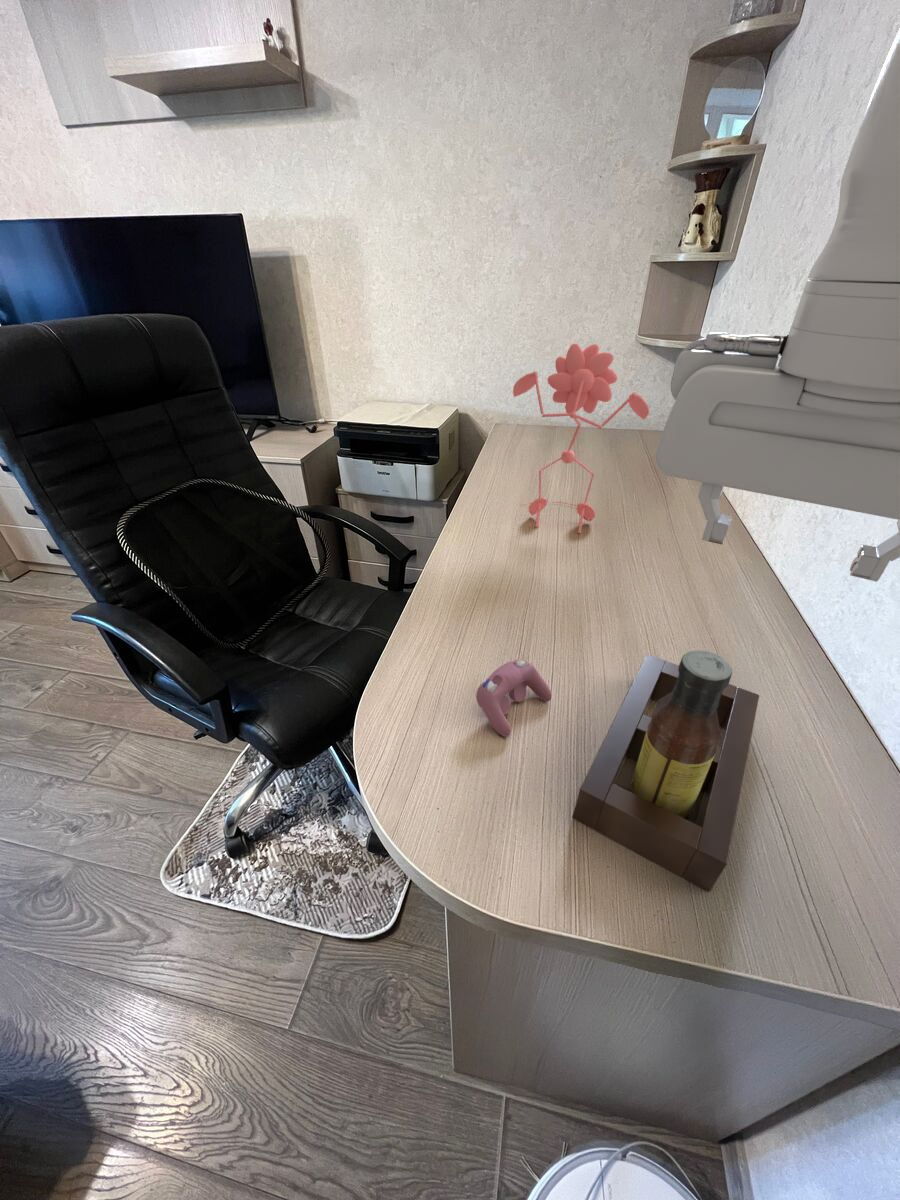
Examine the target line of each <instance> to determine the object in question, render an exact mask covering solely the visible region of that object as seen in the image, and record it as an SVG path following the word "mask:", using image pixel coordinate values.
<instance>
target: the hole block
mask: <svg viewBox="0 0 900 1200" xmlns="http://www.w3.org/2000/svg"><path fill="white" fill-rule="evenodd" d="M678 668H679V664H675V663H673V662H671V661H668V660H665V659H662V658H659V657H657V656H654V655H651V654H648V653H646V655H645V657H644V659H643V661H642V663H641V664H640V667H639V669H638V671H637V672H636V674H635V677H634V679H633V681H632V683H631V685H630V687H629V689H628V691H627V693H626V695H625V697H624V699H623V701H622V703H621V705H620V708H619V709H618V711H617V713H616V716H615V717H614V719H613V721H612V724H611V725H610V726H609V729H608V732H607V733H606V735H605V737H604V739H603V741H602V744H601V746H600V748H599V749H598V751H597V753H596V755H595V757H594V759H593V761H592V763H591V765H590V767H589V769H588V771H587V774H586V775H585V777H584V780H583V781H582V784H581V786H580V787H579V791H578V795H577V798H576V802H575V806H574V809H573V813H572V819H574V820H575V821H577V822H579V823H581V824H583V825H585V826H586V827H588V828H591V829H592V830H594V831H596V832H598V833H599V834H601V835H602V836H605V837H606V838H609V839H610V840H612V841H614V842H616V843H617V844H619V845H621V846H623V847H625V848H627V849H629V850H630V851H633V853H636V854H637V855H639V856H642V857H643V858H645V859H647V860H649V861H650V862H653V863H654V864H656V865H658V866H660V867H661V868H664V869H665V870H668V871H669V872H671V873H673V874H675V875H676V876H678V877H681V878H682V879H685V880H686V881H688V882H690V883H692V884H694V885H695V886H696V887H697V886H698V887H699V888H701V889H702V890H705V891H707V892H708V893H709V892H711V890H712V889H713V887H714V885H715V884H716V882H717V880H718V879H719V877H720V876H721V874H722V873H723V871H724V870H725V868H726V867H727V865H728V860H729V855H730V851H731V845H732V839H733V835H734V830H735V825H736V820H737V819H736V818H737V814H738V810H739V809H738V808H739V803H740V798H741V793H742V788H743V782H744V778H745V777H744V776H745V771H746V766H747V761H748V757H749V751H750V747H751V740H752V736H753V730H754V727H755V725H754V724H755V721H756V715H757V709H758V704H759V699H760V694H758V693H755V692H752V691H750V690H747V689H744V688H741V687H739V686H736V685H733V684H731V683H729V684H728V686H727V687H726V688H725V689H724V690H723V692H722V694H721V697H720V700H719V705H718V708H717V716H718V723H719V729H720V732H721V738H720V739H719V741H718V745H717V750H716V753H715V756H714V758H713V761H712V763H711V765H710V768H709V770H708V773H707V775H706V777H705V780H704V782H703V785H702V787H701V790H700V791H702V792H703V793H702V795H701V796H702V797H701V800H700V804H699V808H698V812H697V815H696V820H695V823H694V822H692V821H690V820H688V819H687V818H686V819H684V818H682V817H680V816H678V815H676V814H674V813H672V812H670V811H668V810H666V809H664V808H662V807H660V806H658V805H656V804H654V803H651V802H649V801H647V800H645V799H643V798H641V797H639V796H637V795H635V794H633V793H631V791H630V790H627V789H625V788H624V787H621V786H619V785H617V784H616V783H617V781H618V778H619V776H620V774H621V771H622V769H623V766H624V765H625V762H626V760H627V757H628V758H630V759H632V760H635V761H636V762H638V758H639V755H640V752H641V748H642V745H643V741H644V738H645V734H646V731H647V727H648V725H649V723H650V721H651V718H652V717H651V716H648V715H647V711H648V709H649V707H650V704H651V702H652V700H653V701H655V702H658V700H659V699H661V698H663V697H664V696H666V695H668V694H669V693H671V692H672V691H673V688H674V686H675V685H676V681H677V679H678V675H679V671H678Z"/></svg>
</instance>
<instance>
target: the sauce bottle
mask: <svg viewBox="0 0 900 1200" xmlns="http://www.w3.org/2000/svg"><path fill="white" fill-rule="evenodd" d="M678 665H679V668H678V671H679V675H678V679H677V681H676V685H675V686H674V688H673V691H672V692H671V693H669V694H668V695H666V696H664V697H663V698H661V699H659V700H658V701H656V703H655V705H654V708H653V711H652V713H651V716H650V717H651V721H650V723H649V725H648V727H647V731H646V734H645V738H644V741H643V745H642V748H641V752H640V755H639V758H638V761H636V765H635V768H634V772H633V775H632V778H631V782H630V792H631V793H633V794H635V795H637V796H639V797H641V798H643V799H645V800H647V801H649V802H651V803H654V804H656V805H658V806H660V807H662V808H664V809H666V810H668V811H670V812H672V813H674V814H676V815H678V816H680V817H682V818H684V819H686V820H687V819H688V818H689V816H690V814H691V812H692V811H693V810H694V807H695V804H696V802H697V799H698V796H699V795H700V792H701V791H702V790H701V787H702V785H703V782H704V780H705V777H706V775H707V773H708V770H709V768H710V765H711V763H712V761H713V758H714V756H715V753H716V750H717V745H718V741H719V739H720V738H721V732H720V726H719V723H718V716H717V708H718V705H719V700H720V697H721V694H722V692H723V690H724V689H725V688H726V687H727V686H728V684H730V682H731V679H732V675H733V668H732V666H731V665H730V663H728V662H727V661H726V660H725V659H724V658H723V657H722V656H720V655H718V654H717V653H715V652H712V651H708V650H699V649H698V650H691V651H686V653H684V654H683V655H682V657H681V659H680V662H679V664H678Z"/></svg>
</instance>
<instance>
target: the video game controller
mask: <svg viewBox="0 0 900 1200" xmlns="http://www.w3.org/2000/svg"><path fill="white" fill-rule="evenodd" d="M527 688H529V689H530V690H531V691H532V692H533V693H534V695H536V696H537V697H538V698H539V699H540V700H542V701H544V702H550V701H551V700H552V692H551V689H550V687H549V685H548V684H547V683H546V681H545V680H544V678H543V677H542V676H541V675H540V673H539V671H538V670H537V669H536V667H535V665H533V664H532V663H530V662H529V661H525V660H522V659H515V660H511V661H508V662H506V663H504V664H502V665H500V666H499V667H498V668H497V669H495V670H494V671H493V672H492V673H491V674H490V675H489V676H488V677H487V679H486V680H485V681H483V682H481V683H480V685H479V686H478V688H477V690H476V695H475V698H476V702H477V703H476V704H477V705H478V706H479V707H480V708H481V709H482V711H483V713H484V714H485V717H486V718H487V721H488V722H489V723H490V725H491V726H492V728H494V730H495V731H496V732H497V733H498V734H499V735H501V736H503V737H509V736H510V735H511V733H512V732H511V731H512V730H511V726H510V722H509V721H508V720H507V718H506V716H505V715H506V714H508V712H509V711H510V709H511V701H514V702H518V703H519V702H522V701H524V700H525V698H526V693H527ZM506 695H508V696H506Z"/></svg>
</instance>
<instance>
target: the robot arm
mask: <svg viewBox="0 0 900 1200" xmlns="http://www.w3.org/2000/svg"><path fill="white" fill-rule="evenodd" d="M837 209H838V210H837V215H836V219H835V221H834V225H833V228H832V231H831V233H830V235H829V237H828V240H827V241H826V244H825V245H824V247H823V249H822V251H821V253H820V254H819V255H818V257H817V259H816V260H815V262H814V263H813V265H812V266H811V269H810V271H809V273H808V275H807V279H806V281H805V285H804V287H803V291H802V293H801V296H800V299H799V302H798V305H797V308H796V311H795V314H794V317H793V319H792V323H791V325H790V329H789V331H788V334H786V335H770V334H748V335H746V334H745V335H741V334H739V335H737V334H731V333H729V332H720V331H719V332H709V333H707V334H706V336H705V338H704V337H703V338H699V339H696V340H694V341H692V342H690V343H689V344H688V345H686V346H685V347H684V348H682V350H681V352H680V353H679V354H678V356H677V359H676V361H675V364H674V367H673V368H674V369H673V373H672V375H671V381H670V392H671V395H672V398H673V400H674V402H673V405H672V407H671V409H670V412H669V414H668V416H667V419H666V421H665V425H664V427H663V430H662V433H661V435H660V439H659V442H658V445H657V447H656V452H655V456H654V461H655V464H656V466H657V468H658V470H659V471H660V473H661V474H662V475H664V476H667V477H672V478H678V479H682V480H687V481H694V482H699V483H701V487H700V489H699V492H698V495H697V496H698V500H699V504H700V506H701V508H702V512H703V515H704V518H705V520H706V523H705V528H704V530H703V534H702V537H701V540H702V541H703V542H708V543H713V544H718V545H724V542H725V540H726V537H727V534H728V531H729V528H730V526H731V523H732V520H733V516H731V515H729V514H728V515H727V514H723V513H722V510H721V507H720V504H719V503H720V502H719V500H720V499H721V496H722V493H723V492H724V490H725V488H728V489H729V488H730V489H735V490H741V491H746V492H751V493H756V494H760V495H768V496H772V497H775V498H776V497H778V498H783V499H788V500H793V501H796V502H797V501H799V502H803V503H809V504H814V505H819V506H825V507H829V508H834V509H839V510H846V511H851V512H855V513H861V514H865V515H871V516H877V517H882V518H887V519H893V520H897V521H896V526H897V531H898V532H897V533H895V534H894V535H892V536H890V537H889V538H887V539H886V540H884V541H883V542H881V543H879V544H878V545H876V546H874V545H873V546H872V545H869V544H863V543H861V544H860V547H859V549H858V550H857V552H856V553H857V554H856V557H854V558H853V560H852V562H851V564H850V567H849V571H850V573H849V576H850V577H854V578H859V579H863V580H867V581H870V582H871V581H872V582H875V583H876V582H878V581H879V580H880V579H881V577H882V575H883V574H884V572H885V570H886V568H887V567H888V565H889V563H890V562H894V561H895V560H897V559H899V558H900V29H899V31H898V32H897V34H896V37H895V39H894V41H893V43H892V46H891V48H890V49H889V52H888V55H887V57H886V60H885V62H884V64H883V67H882V69H881V71H880V74H879V77H878V79H877V82H876V83H875V87H874V89H873V91H872V94H871V97H870V99H869V102H868V105H867V107H866V110H865V112H864V115H863V117H862V120H861V123H860V126H859V128H858V131H857V133H856V136H855V139H854V142H853V144H852V148H851V151H850V153H849V156H848V159H847V162H846V164H845V168H844V170H843V174H842V178H841V181H840V189H839V201H838V208H837ZM701 346H703V349H701V350H700V349H696V348H698V347H701Z"/></svg>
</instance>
